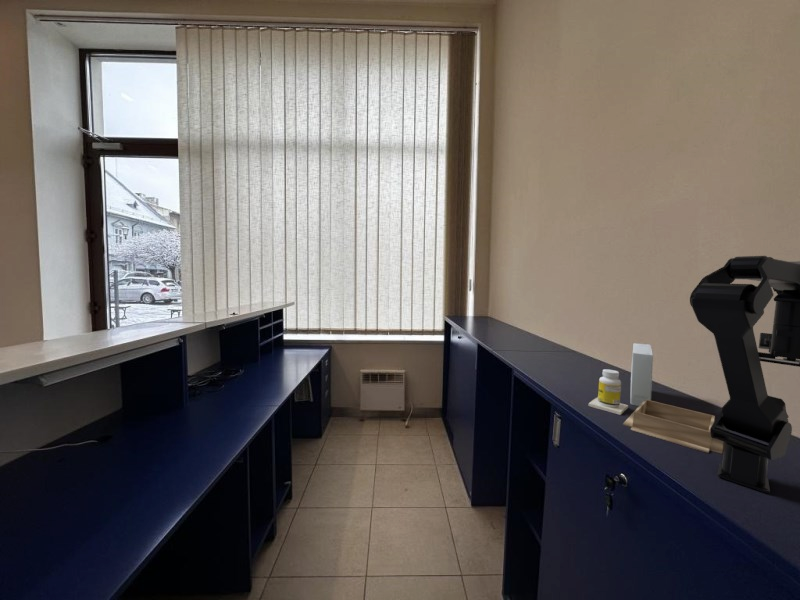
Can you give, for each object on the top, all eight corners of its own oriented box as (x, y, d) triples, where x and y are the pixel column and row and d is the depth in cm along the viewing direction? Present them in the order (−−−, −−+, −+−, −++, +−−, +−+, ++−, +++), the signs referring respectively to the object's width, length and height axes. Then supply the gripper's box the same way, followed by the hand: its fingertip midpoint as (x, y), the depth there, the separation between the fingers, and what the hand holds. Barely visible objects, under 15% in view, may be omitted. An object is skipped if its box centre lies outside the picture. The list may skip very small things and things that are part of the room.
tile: (620, 415, 90) (620, 412, 89) (588, 405, 95) (588, 403, 95) (627, 407, 95) (628, 405, 95) (596, 399, 101) (597, 397, 101)
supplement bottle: (597, 399, 99) (599, 367, 98) (618, 403, 96) (621, 370, 95) (597, 405, 94) (600, 371, 93) (620, 409, 91) (623, 374, 91)
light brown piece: (721, 457, 69) (723, 438, 69) (620, 426, 82) (622, 411, 82) (724, 432, 81) (726, 416, 81) (636, 409, 94) (638, 395, 94)
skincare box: (629, 387, 116) (633, 342, 115) (648, 390, 112) (653, 344, 111) (628, 404, 98) (632, 351, 97) (650, 409, 95) (655, 354, 94)
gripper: (866, 329, 63) (855, 408, 64) (729, 318, 76) (721, 383, 77) (883, 334, 55) (871, 424, 56) (727, 320, 69) (719, 393, 70)
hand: (785, 403), depth 65 cm, fingers open, 9 cm apart
